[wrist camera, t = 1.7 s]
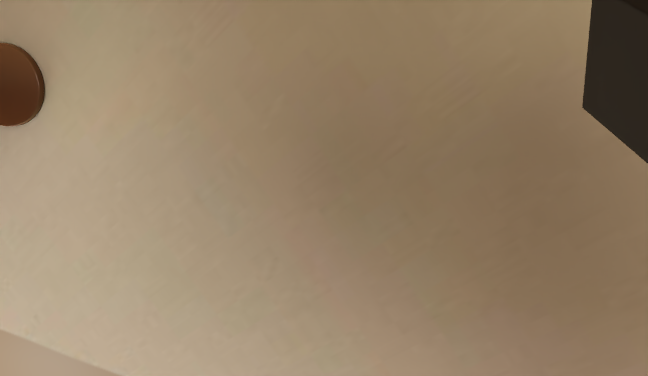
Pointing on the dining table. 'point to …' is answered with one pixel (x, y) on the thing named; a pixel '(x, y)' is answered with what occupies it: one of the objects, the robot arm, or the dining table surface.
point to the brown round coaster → (19, 86)
